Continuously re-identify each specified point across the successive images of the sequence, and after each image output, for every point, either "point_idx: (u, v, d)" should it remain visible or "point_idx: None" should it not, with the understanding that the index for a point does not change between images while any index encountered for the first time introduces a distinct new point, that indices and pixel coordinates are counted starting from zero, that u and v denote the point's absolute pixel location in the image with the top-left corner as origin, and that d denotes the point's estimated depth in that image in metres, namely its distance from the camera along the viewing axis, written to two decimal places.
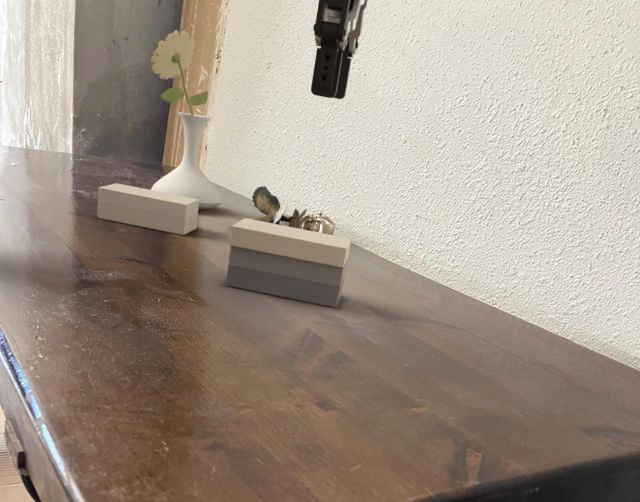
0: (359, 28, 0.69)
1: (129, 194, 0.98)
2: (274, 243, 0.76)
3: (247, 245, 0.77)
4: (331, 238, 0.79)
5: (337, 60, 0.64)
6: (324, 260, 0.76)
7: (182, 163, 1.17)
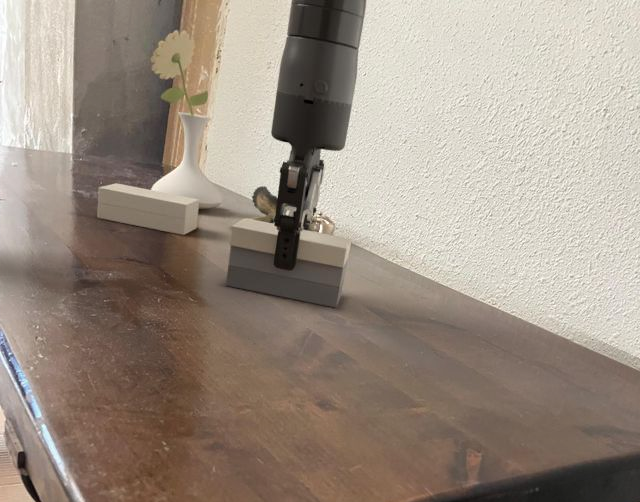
0: (316, 200, 0.79)
1: (129, 194, 0.98)
2: (274, 243, 0.76)
3: (247, 245, 0.77)
4: (331, 238, 0.79)
5: (295, 241, 0.75)
6: (324, 260, 0.76)
7: (182, 163, 1.17)
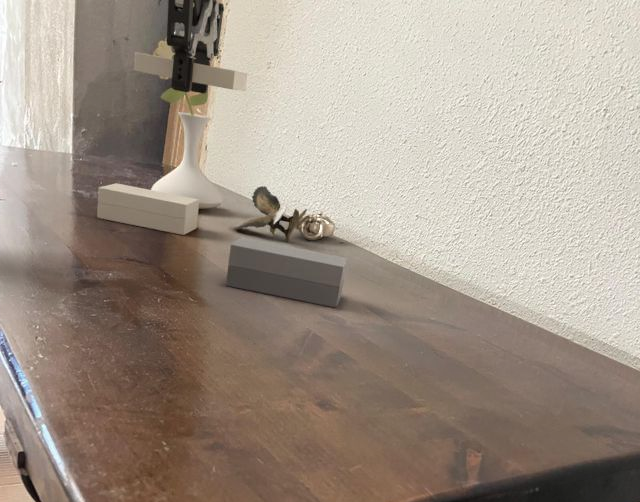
0: (213, 35, 0.89)
1: (129, 194, 0.98)
2: (172, 67, 0.86)
3: (149, 70, 0.87)
4: None
5: (189, 64, 0.85)
6: (216, 82, 0.86)
7: (182, 163, 1.17)
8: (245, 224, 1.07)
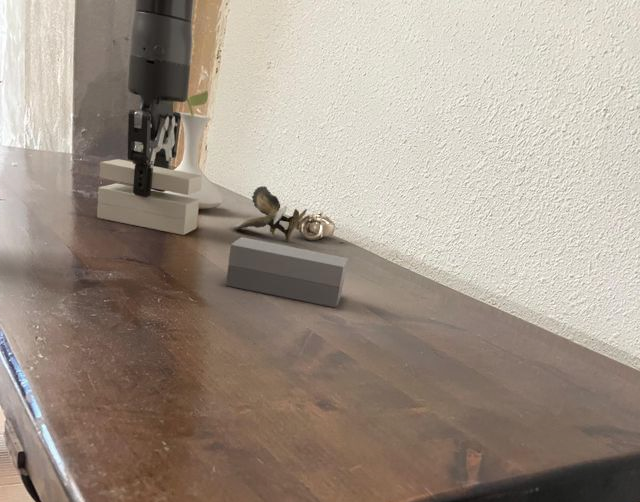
0: (170, 143, 1.00)
1: (129, 194, 0.98)
2: None
3: (113, 177, 0.97)
4: (183, 173, 1.00)
5: (148, 173, 0.96)
6: (173, 189, 0.97)
7: (182, 163, 1.17)
8: (245, 224, 1.07)
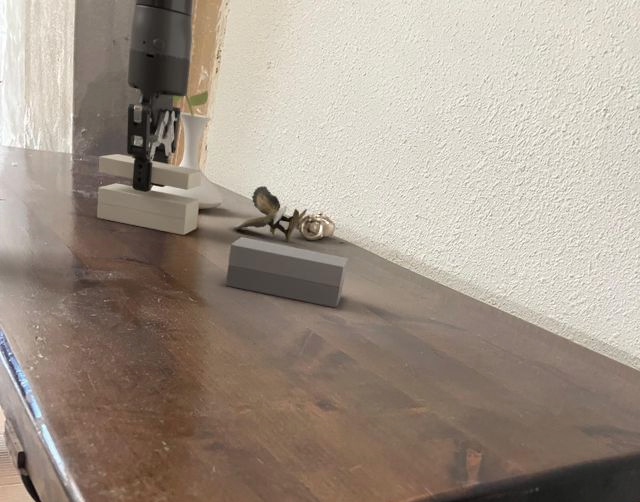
0: (170, 138, 1.00)
1: (129, 194, 0.98)
2: (133, 170, 0.97)
3: (112, 172, 0.97)
4: (182, 168, 1.00)
5: (148, 168, 0.96)
6: (172, 184, 0.97)
7: (182, 163, 1.17)
8: (245, 224, 1.07)
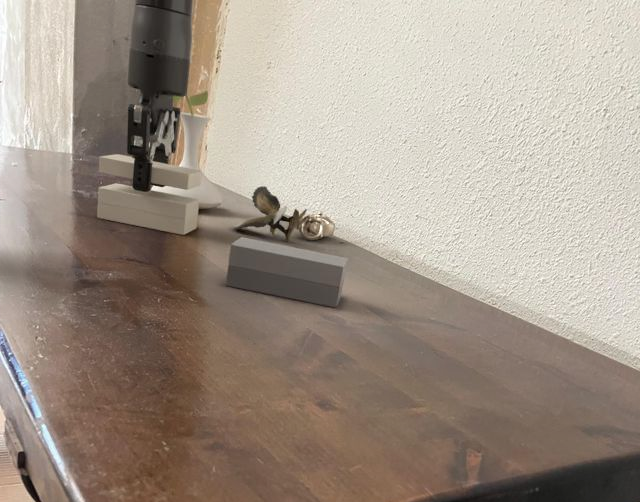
0: (170, 138, 1.00)
1: (129, 194, 0.98)
2: (133, 170, 0.97)
3: (112, 172, 0.97)
4: (182, 169, 1.00)
5: (148, 168, 0.96)
6: (172, 184, 0.97)
7: (182, 163, 1.17)
8: (245, 224, 1.07)
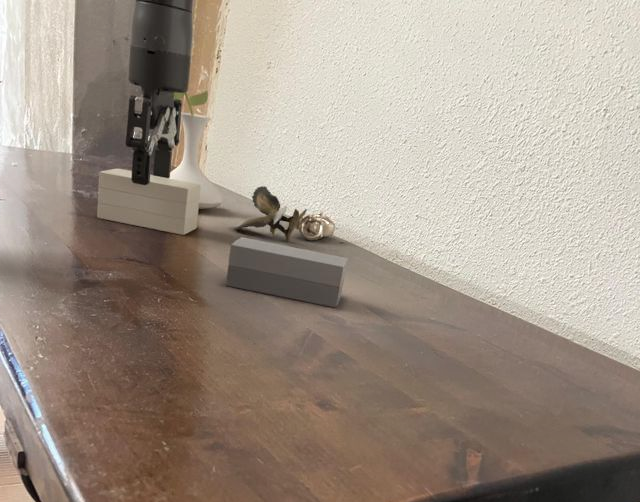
0: (172, 133, 1.00)
1: (129, 194, 0.98)
2: (132, 185, 0.97)
3: (112, 187, 0.98)
4: (182, 183, 1.00)
5: (147, 161, 0.95)
6: (172, 198, 0.98)
7: (182, 163, 1.17)
8: (245, 224, 1.07)
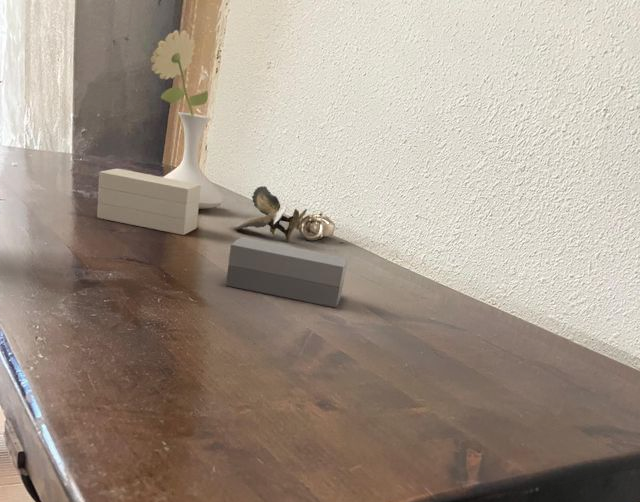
0: None
1: (129, 194, 0.98)
2: (132, 185, 0.97)
3: (112, 187, 0.98)
4: (182, 183, 1.00)
5: None
6: (172, 198, 0.98)
7: (182, 163, 1.17)
8: (245, 224, 1.07)
